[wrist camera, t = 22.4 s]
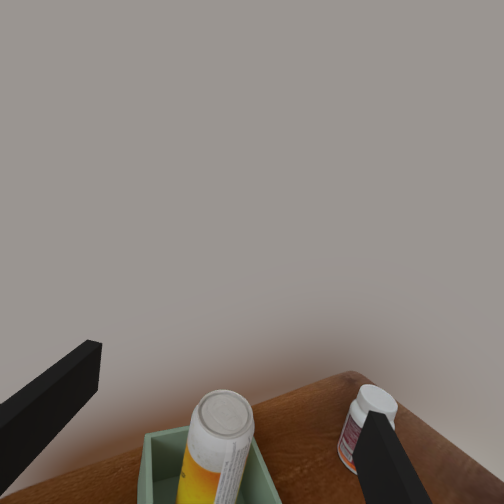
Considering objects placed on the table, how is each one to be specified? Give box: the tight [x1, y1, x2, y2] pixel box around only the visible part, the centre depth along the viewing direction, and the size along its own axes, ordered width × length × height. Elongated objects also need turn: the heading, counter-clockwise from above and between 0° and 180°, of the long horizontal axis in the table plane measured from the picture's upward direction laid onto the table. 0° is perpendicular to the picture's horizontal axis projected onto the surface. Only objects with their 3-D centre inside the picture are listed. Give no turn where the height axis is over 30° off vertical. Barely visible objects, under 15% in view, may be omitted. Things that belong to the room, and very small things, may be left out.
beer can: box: [175, 390, 255, 504], centre depth 25 cm, size 6×6×15 cm
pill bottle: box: [337, 384, 398, 475], centre depth 38 cm, size 6×6×11 cm
